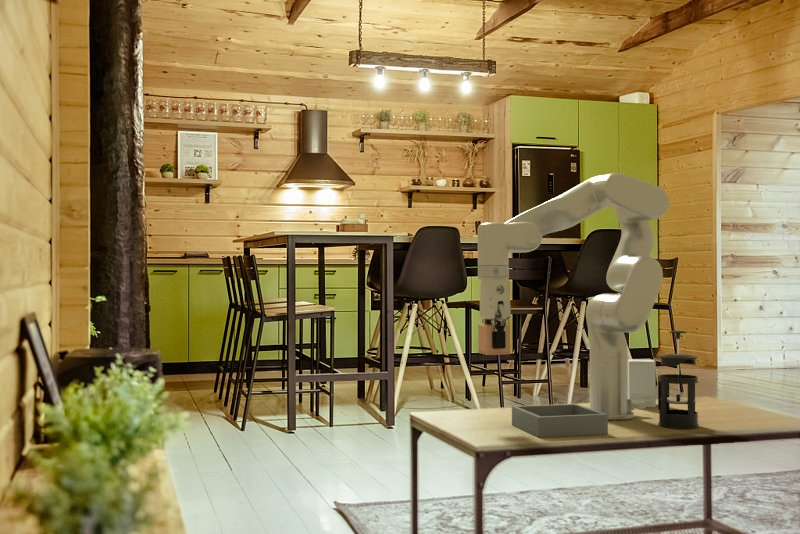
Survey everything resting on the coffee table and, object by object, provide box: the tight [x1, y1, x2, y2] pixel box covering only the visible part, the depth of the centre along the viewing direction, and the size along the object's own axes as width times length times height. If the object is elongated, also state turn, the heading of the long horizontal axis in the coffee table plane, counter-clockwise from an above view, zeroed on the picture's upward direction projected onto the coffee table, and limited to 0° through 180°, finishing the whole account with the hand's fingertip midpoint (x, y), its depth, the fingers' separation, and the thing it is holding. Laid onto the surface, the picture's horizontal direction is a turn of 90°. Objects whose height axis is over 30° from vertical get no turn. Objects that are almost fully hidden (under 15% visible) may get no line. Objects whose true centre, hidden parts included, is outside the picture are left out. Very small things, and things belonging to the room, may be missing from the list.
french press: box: [657, 330, 700, 430], centre depth 215 cm, size 12×9×23 cm
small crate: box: [477, 323, 511, 356], centre depth 216 cm, size 6×6×7 cm
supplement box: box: [628, 358, 657, 408], centre depth 248 cm, size 7×7×13 cm
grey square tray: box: [511, 403, 609, 438], centre depth 210 cm, size 17×17×4 cm
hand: (494, 346), depth 216 cm, fingers closed on small crate, 6 cm apart
